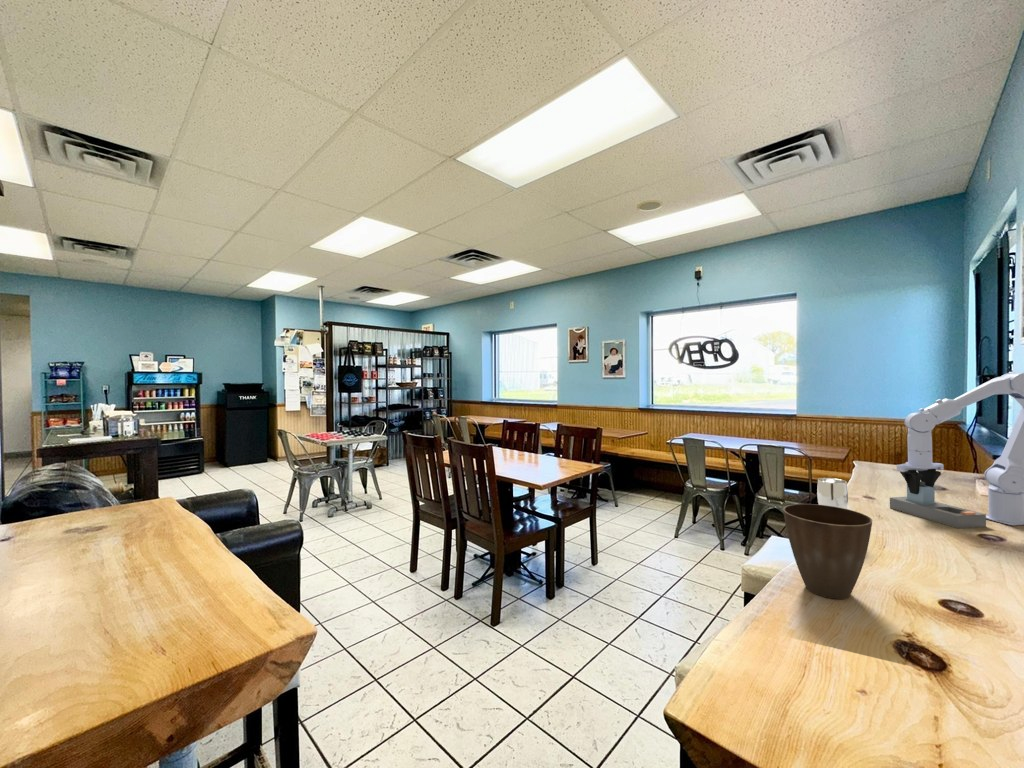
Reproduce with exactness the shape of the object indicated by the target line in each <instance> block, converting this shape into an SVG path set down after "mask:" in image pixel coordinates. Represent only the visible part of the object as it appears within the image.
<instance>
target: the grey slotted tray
mask: <svg viewBox="0 0 1024 768" xmlns="http://www.w3.org/2000/svg"><path fill="white" fill-rule="evenodd" d="M889 508H890V509H891V508H893V509H892V510H895V509H896V510H895V511H898V510H899V511H898V512H901V511H902V513H905V514H908V515H912V516H915V517H918V518H923V519H925V520H930V521H931V522H932V521H933V522H935V523H939V524H943V525H946V526H949V527H953V528H955V529H969V528H971V529H972V528H982V527H984V528H985V527H987V519H986V515H987V514H986V513H983V512H977V511H975V510H970V509H966V508H962V507H959V506H954V505H950V504H947V503H942V502H939V501H935V504H932V505H922V504H918V503H914V502H911V501H907V496H896V497H893V496H892V497H891V496H890V497H889Z"/></svg>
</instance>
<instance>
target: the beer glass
mask: <svg viewBox="0 0 1024 768" xmlns="http://www.w3.org/2000/svg"><path fill="white" fill-rule="evenodd" d="M816 487H817V489H816V491H817V492H816V497H817V503H818V504H817V505H826V506H833V507H839V508H844V509H848V506H849V505H848V504H849V491H848V490H849V489H848V482H847V481H846V480H844V479H839V478H835V477H819V478H817V486H816Z"/></svg>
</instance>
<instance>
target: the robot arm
mask: <svg viewBox="0 0 1024 768" xmlns="http://www.w3.org/2000/svg"><path fill="white" fill-rule="evenodd" d="M993 395H994V396H995V395H1008V396H1011V397H1012V398H1013V399H1014V400H1015V401H1016V402H1017V403H1018V404H1019V405H1020V407H1021V409H1020V411H1019V413H1018V416H1017V418H1016V420H1015V422H1014V424H1013V427H1012V429H1011V432H1010V435H1009V437H1008V439H1007V441H1006V444H1005V446H1004V448H1003V450H1002V453H1001V455H1000V456H999V457H997V458H996V459H995V460H994V461H993V464H992V465H991V466H990V467H988V468H987V469H986V470H985V471H984V473H983V475H984V476H983V477H984V479H985V481H986V482H987V483H989V486H988V487H987V493H988V494H987V497H988V499H987V501H988V503H987V504H988V505H987V506H988V514H986V520H988V521H994V522H997V523H1000V524H1005V525H1008V526H1023V525H1024V372H1017V373H1016V372H1007V373H1005V374H1003V375H1001V376H997V377H994V378H992V379H989V380H988V381H986V382H984V383H982V384H980V385H977V386H976V387H974V388H972V389H970V390H969V391H967V392H964V393H963V394H961V395H959V396H957V397H956V398H954V399H951V398H943V399H940V398H938V399H937V400H936V399H935V402H934V403H933V404H931V405H929V406H927V407H924V408H923V407H921V408H919V409H918V411H919V412H912V413H909V414H908V415H906V417H905V420H904V421H903V424H904V425H905V427H907V443H906V444H907V461H906V462H905V463H901V464H896V471H897V472H899V473H900V474H901V476H902V477H903V479H904V481H905V482H906V486H907V485H908V488H909V491H910V493H913V494H918V493H919V487H920V482H925V486H930V487H934V486H935V484H936V482H937V480H938V478H940V476H942V473H941V471H944V469H945V468H944V467H945V466H944V464H943V463H939V462H933V436H932V430H933V429H934V428H935V427H936V425H940V424H942V423H943V422H946V421H949V420H950V419H952V418H955V417H957V416H959V415H960V414H962V410H963V408H965V407H968V406H970V405H973V404H975V403H978V402H979V401H982V400H984V399H987V398H989V397H991V396H992V397H993ZM934 488H935V487H934Z"/></svg>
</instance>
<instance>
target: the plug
mask: <svg viewBox="0 0 1024 768" xmlns="http://www.w3.org/2000/svg"><path fill="white" fill-rule="evenodd" d="M935 490H936V489H935V487H930V486H925V482H921V481H920V487H919V493H918V494H913V493H910V491H909V488H908V485H907V484H906V497H907V501H911V502H914V503H918V504H922V505H932V504H935V502H936V499H935V493H936V492H935Z"/></svg>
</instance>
